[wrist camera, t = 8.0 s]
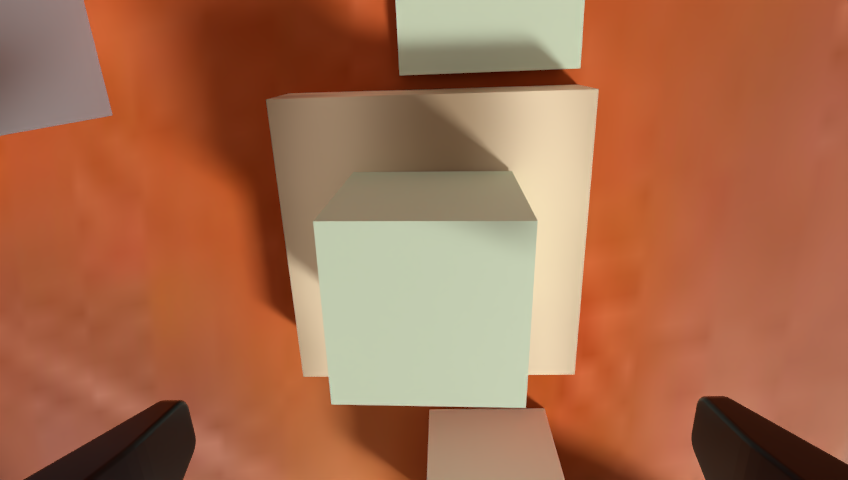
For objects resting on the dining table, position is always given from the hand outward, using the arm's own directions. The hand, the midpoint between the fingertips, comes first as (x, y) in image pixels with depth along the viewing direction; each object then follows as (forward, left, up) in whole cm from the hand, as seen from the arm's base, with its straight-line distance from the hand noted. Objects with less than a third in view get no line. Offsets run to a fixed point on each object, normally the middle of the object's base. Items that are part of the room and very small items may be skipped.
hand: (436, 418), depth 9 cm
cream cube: (+2, -11, -11) cm, 16 cm away
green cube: (0, 0, -8) cm, 8 cm away
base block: (0, 0, -12) cm, 12 cm away
